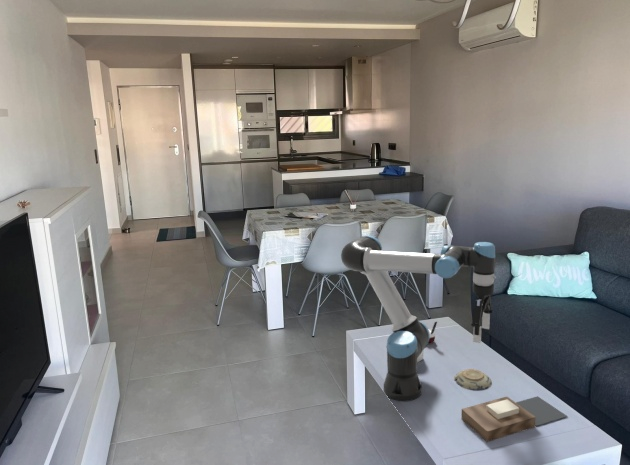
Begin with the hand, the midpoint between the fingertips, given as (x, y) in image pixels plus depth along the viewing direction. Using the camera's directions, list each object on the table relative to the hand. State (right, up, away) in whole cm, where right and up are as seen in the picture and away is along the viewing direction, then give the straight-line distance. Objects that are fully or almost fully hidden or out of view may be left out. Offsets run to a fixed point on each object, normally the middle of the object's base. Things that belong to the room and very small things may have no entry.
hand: (481, 335), depth 186 cm
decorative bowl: (+1, -22, +12) cm, 25 cm away
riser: (0, -28, -16) cm, 32 cm away
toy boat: (-9, -14, +48) cm, 51 cm away
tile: (+2, -24, -16) cm, 29 cm away
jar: (-20, -18, +33) cm, 43 cm away
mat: (+17, -26, -11) cm, 32 cm away
